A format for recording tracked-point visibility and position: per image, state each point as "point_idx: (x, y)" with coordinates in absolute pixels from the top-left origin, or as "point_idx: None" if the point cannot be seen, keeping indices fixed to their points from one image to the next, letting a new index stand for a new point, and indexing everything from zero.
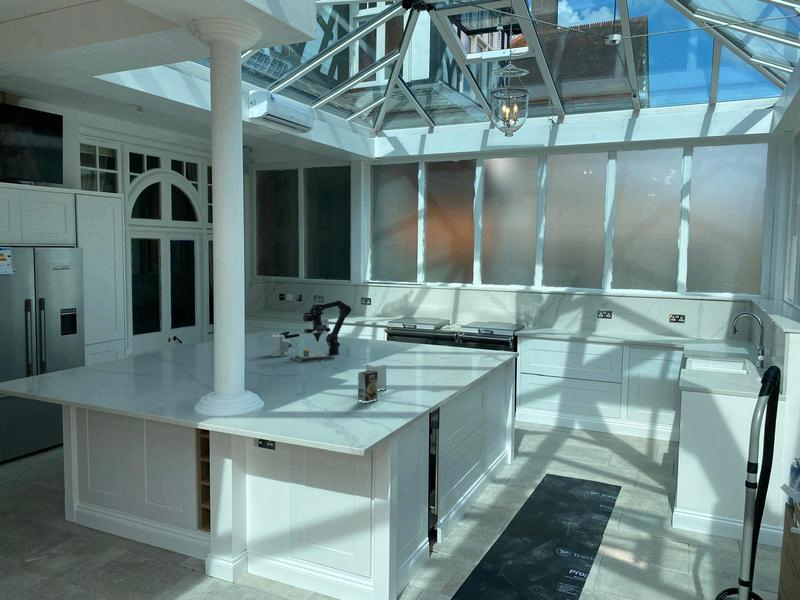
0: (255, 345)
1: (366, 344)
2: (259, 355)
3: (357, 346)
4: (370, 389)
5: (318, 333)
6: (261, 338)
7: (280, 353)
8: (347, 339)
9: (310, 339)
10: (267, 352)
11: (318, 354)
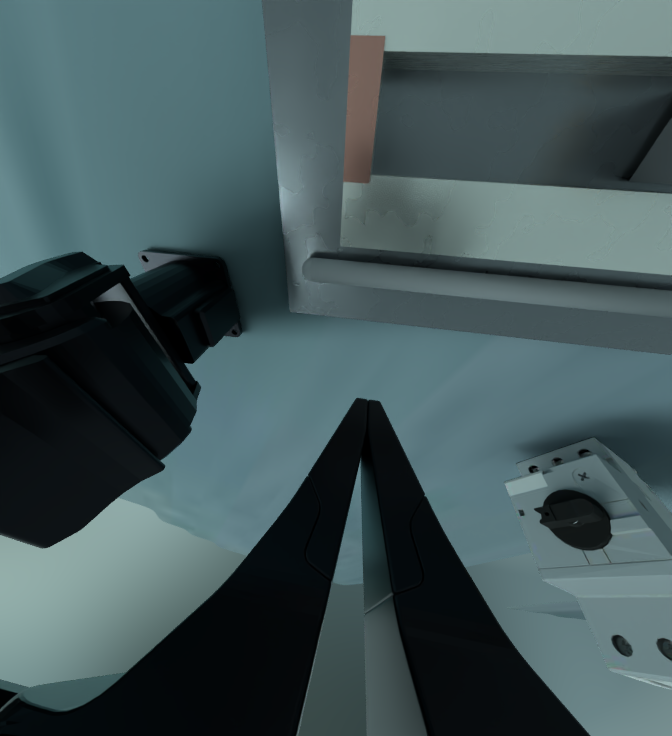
0: None
1: None
2: None
3: None
4: None
5: (306, 694)
6: (360, 578)
7: (618, 464)
8: (132, 499)
9: (248, 537)
10: (517, 520)
11: (434, 179)
